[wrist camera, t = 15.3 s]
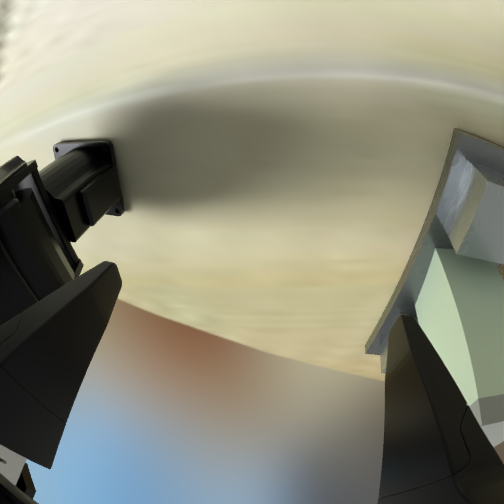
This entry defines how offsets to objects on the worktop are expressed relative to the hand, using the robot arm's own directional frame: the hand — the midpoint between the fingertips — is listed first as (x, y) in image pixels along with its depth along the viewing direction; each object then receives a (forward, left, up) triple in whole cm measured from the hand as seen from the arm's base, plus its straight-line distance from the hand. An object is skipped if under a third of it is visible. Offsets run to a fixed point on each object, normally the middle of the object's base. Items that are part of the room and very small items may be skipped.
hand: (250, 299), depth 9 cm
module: (+14, -7, -11) cm, 19 cm away
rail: (+14, -7, -12) cm, 20 cm away
